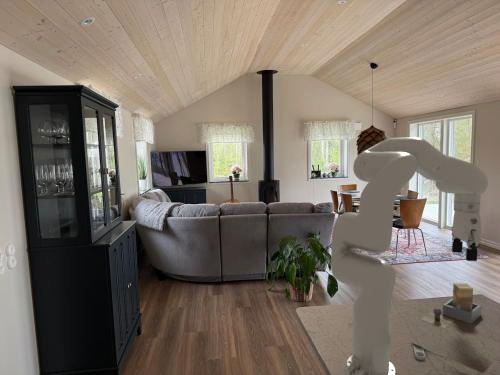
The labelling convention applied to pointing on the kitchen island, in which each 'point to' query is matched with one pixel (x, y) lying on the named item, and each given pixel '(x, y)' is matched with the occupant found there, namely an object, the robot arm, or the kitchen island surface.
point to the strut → (462, 296)
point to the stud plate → (438, 323)
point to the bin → (462, 312)
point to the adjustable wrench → (418, 352)
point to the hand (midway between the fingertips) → (463, 256)
